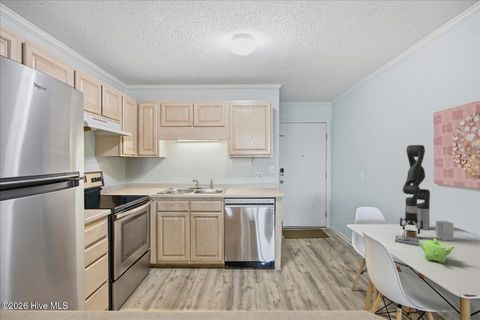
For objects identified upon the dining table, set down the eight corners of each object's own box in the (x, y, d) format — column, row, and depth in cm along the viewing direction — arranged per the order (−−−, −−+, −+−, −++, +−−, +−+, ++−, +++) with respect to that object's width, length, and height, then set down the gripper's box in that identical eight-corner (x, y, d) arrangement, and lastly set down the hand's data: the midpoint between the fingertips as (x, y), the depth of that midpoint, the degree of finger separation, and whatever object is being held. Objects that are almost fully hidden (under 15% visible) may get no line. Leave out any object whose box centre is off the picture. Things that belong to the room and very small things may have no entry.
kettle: (434, 253, 149) (435, 236, 149) (458, 264, 135) (458, 244, 135) (413, 255, 147) (413, 237, 147) (435, 266, 133) (435, 246, 133)
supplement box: (446, 237, 178) (446, 220, 177) (453, 240, 170) (454, 223, 170) (435, 236, 178) (435, 220, 178) (442, 240, 171) (442, 223, 171)
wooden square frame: (406, 235, 183) (406, 229, 183) (416, 236, 179) (416, 231, 179) (406, 237, 178) (406, 231, 178) (416, 239, 174) (416, 233, 174)
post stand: (395, 236, 180) (395, 226, 179) (417, 240, 172) (417, 229, 172) (395, 242, 169) (395, 230, 169) (417, 246, 162) (417, 234, 161)
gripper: (422, 211, 177) (422, 233, 177) (400, 209, 185) (399, 230, 185) (423, 213, 171) (423, 236, 171) (399, 211, 179) (399, 232, 179)
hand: (411, 232), depth 178 cm, fingers open, 8 cm apart
